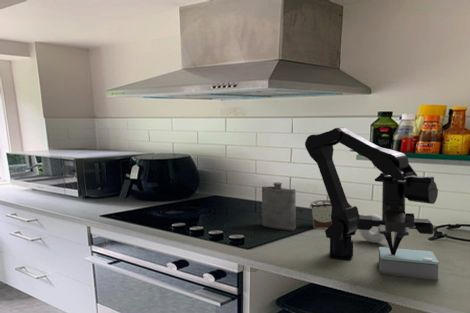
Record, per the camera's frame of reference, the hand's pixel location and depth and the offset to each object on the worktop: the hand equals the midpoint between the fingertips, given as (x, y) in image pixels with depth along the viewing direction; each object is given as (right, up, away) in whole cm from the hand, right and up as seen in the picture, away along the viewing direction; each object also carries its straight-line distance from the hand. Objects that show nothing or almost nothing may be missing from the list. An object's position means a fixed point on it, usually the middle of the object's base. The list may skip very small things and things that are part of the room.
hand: (393, 255), depth 101 cm
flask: (-26, -1, +45) cm, 52 cm away
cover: (+4, 0, +1) cm, 4 cm away
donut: (+4, -3, +25) cm, 26 cm away
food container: (-8, -1, +46) cm, 47 cm away
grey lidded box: (+4, -5, +2) cm, 7 cm away
